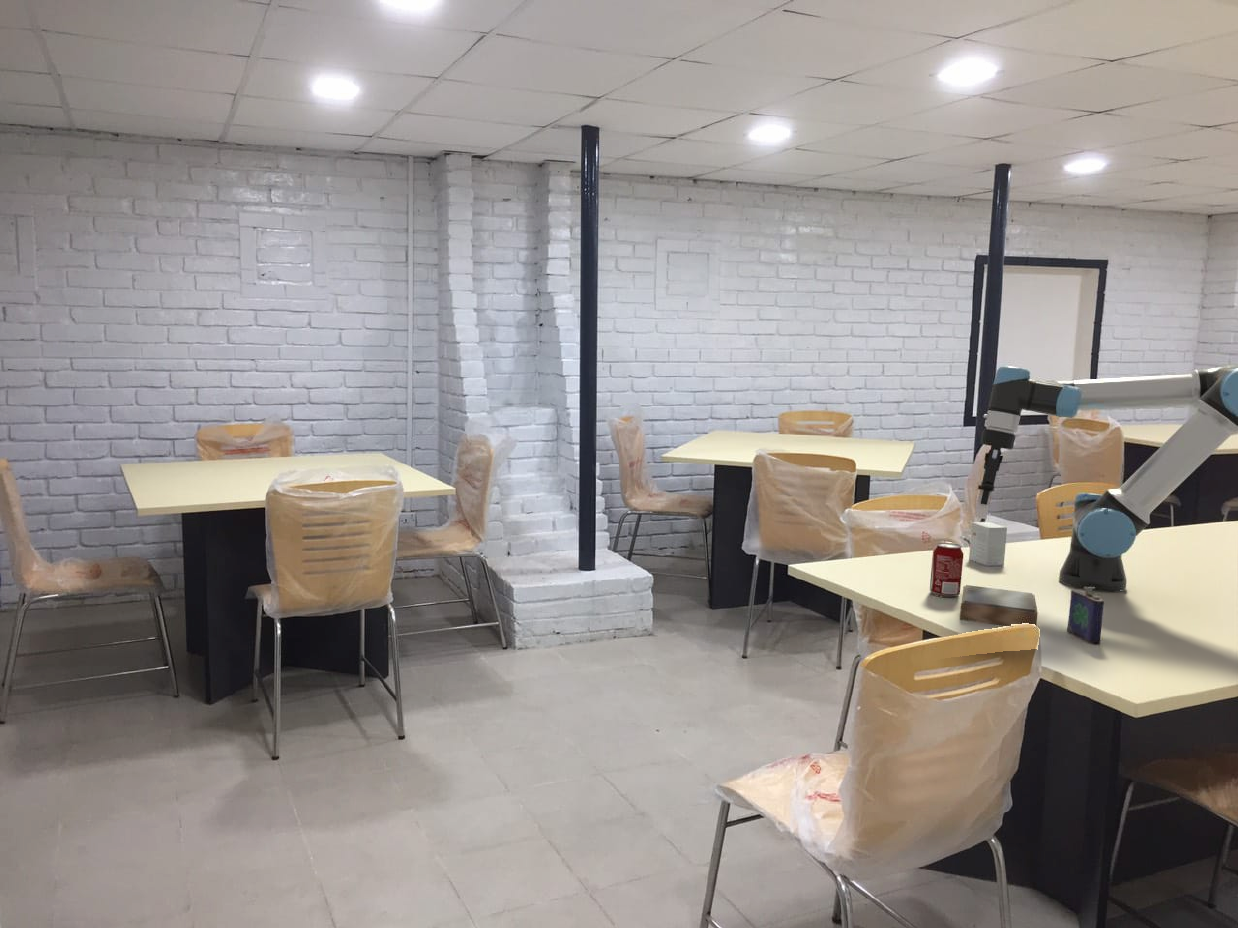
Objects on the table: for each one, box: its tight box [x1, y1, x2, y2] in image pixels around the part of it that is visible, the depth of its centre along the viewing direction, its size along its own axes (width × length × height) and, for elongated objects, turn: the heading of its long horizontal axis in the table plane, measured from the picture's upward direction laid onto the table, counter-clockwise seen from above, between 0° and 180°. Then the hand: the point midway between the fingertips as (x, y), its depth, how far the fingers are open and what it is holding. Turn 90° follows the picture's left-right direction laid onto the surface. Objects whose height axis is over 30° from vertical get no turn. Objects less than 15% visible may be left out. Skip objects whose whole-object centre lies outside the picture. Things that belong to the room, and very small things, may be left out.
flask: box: [1066, 587, 1105, 646], centre depth 197 cm, size 9×3×11 cm, turn 8°
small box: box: [968, 521, 1008, 567], centre depth 262 cm, size 8×6×10 cm
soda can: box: [929, 541, 964, 599], centre depth 226 cm, size 7×7×12 cm
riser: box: [959, 584, 1039, 626], centre depth 212 cm, size 15×16×4 cm
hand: (980, 516), depth 235 cm, fingers open, 13 cm apart
